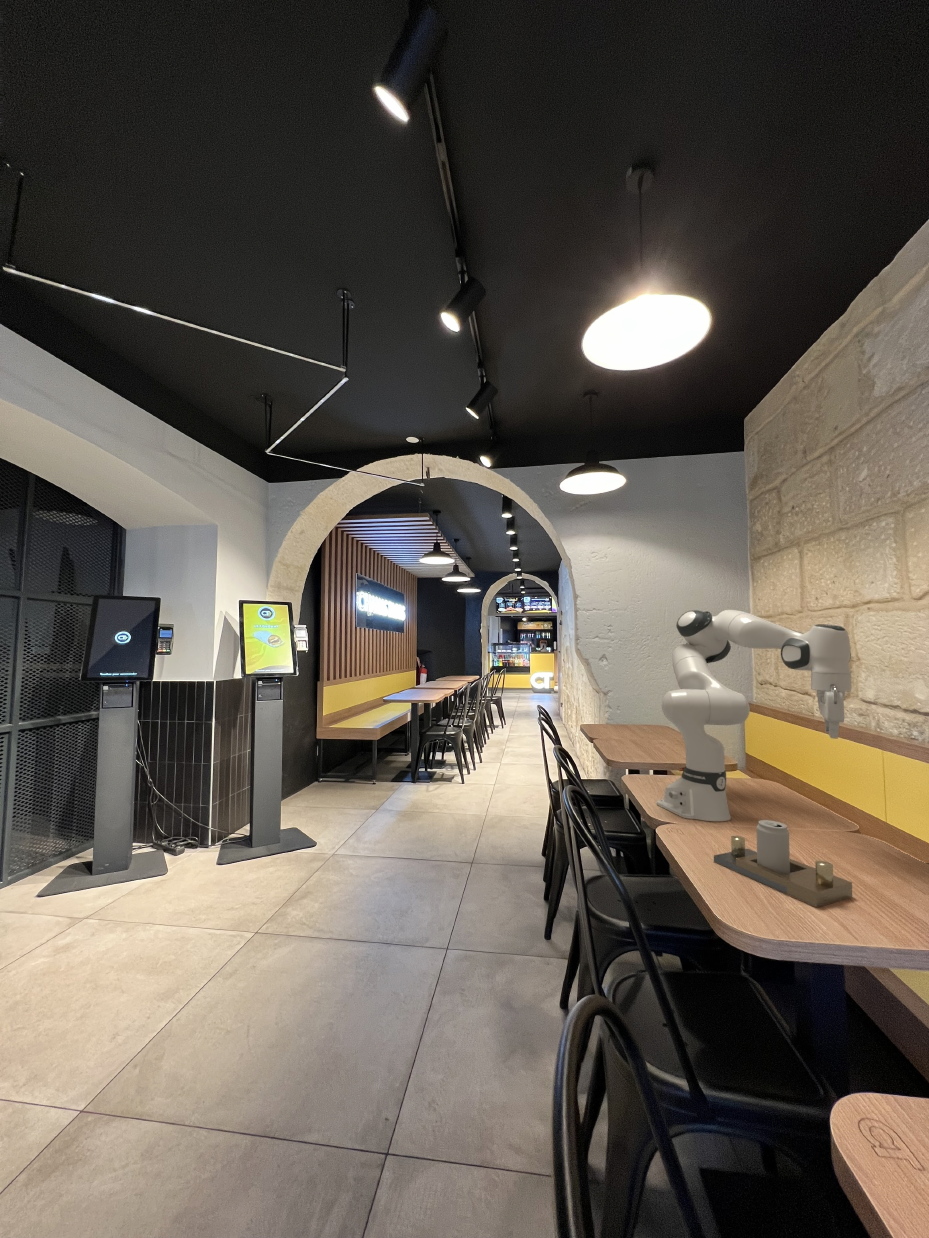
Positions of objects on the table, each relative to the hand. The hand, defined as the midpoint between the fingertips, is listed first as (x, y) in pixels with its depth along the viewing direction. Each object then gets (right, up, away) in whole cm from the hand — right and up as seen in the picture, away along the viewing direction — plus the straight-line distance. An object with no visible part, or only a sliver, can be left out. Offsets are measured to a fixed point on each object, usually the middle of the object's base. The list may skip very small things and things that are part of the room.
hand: (831, 735), depth 138 cm
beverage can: (-29, -27, -22) cm, 45 cm away
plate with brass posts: (-28, -27, -22) cm, 44 cm away
